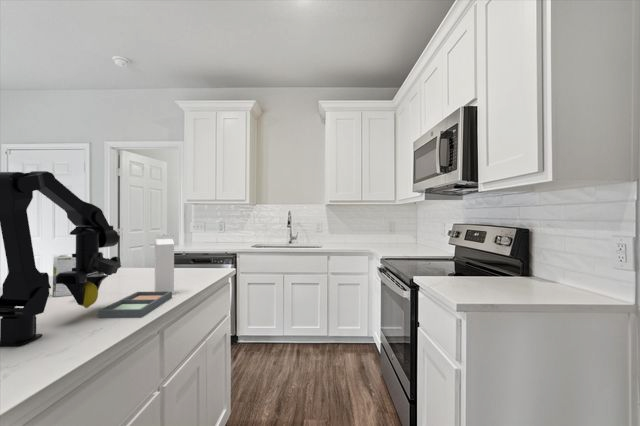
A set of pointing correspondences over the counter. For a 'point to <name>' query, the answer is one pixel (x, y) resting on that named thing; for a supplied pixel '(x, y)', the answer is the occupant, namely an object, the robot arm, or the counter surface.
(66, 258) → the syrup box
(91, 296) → the lemon
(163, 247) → the milk
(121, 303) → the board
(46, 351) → the counter surface
